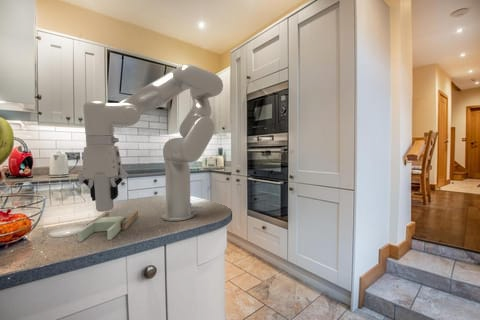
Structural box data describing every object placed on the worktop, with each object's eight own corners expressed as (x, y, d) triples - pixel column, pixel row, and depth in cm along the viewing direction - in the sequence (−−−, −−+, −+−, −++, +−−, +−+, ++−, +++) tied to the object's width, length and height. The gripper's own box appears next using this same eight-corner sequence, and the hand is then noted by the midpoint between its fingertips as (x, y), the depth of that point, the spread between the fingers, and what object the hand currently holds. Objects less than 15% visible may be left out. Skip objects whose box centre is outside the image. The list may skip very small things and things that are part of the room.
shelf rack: (138, 216, 92) (138, 210, 92) (125, 229, 77) (125, 222, 77) (105, 218, 90) (105, 212, 90) (87, 231, 75) (86, 224, 75)
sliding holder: (126, 224, 82) (126, 216, 82) (111, 239, 68) (110, 229, 68) (99, 225, 80) (98, 217, 80) (77, 241, 67) (77, 231, 66)
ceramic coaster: (89, 226, 80) (89, 224, 80) (75, 236, 71) (75, 234, 71) (60, 228, 78) (60, 226, 78) (42, 238, 69) (42, 235, 69)
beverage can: (101, 207, 75) (98, 171, 74) (116, 207, 75) (113, 171, 74) (92, 212, 70) (89, 173, 69) (109, 211, 70) (106, 173, 69)
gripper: (132, 141, 76) (136, 194, 78) (77, 143, 74) (81, 198, 75) (125, 141, 69) (129, 200, 70) (63, 142, 66) (68, 204, 68)
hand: (104, 198), depth 73 cm, fingers closed on beverage can, 4 cm apart
